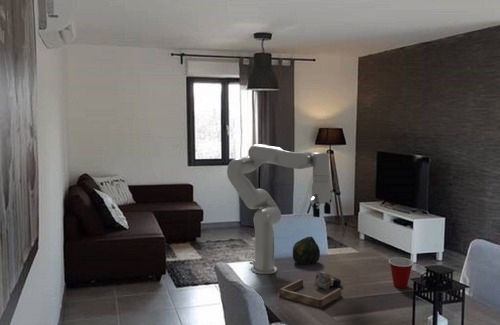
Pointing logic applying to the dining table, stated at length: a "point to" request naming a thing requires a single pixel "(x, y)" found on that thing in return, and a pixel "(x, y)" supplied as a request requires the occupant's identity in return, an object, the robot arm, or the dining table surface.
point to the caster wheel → (326, 280)
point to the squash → (306, 251)
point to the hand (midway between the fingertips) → (322, 215)
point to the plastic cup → (400, 271)
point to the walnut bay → (321, 302)
